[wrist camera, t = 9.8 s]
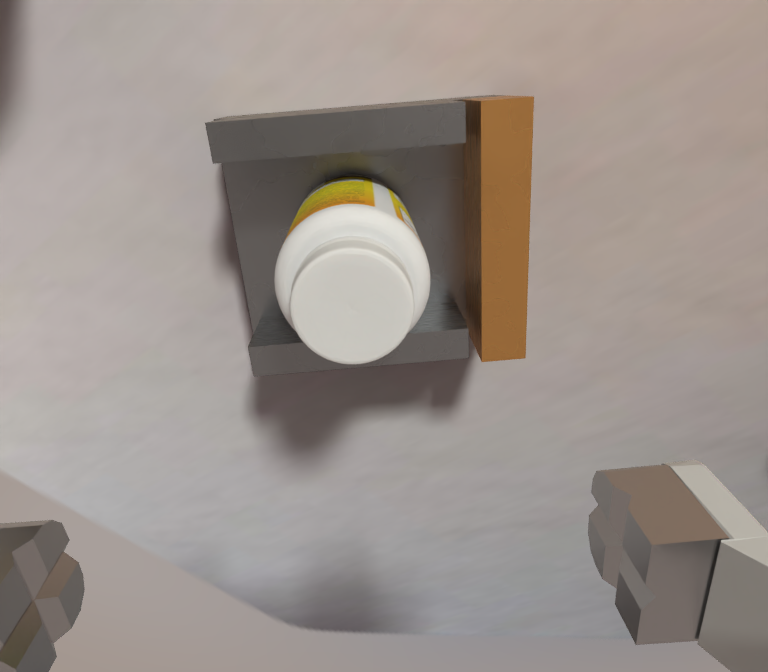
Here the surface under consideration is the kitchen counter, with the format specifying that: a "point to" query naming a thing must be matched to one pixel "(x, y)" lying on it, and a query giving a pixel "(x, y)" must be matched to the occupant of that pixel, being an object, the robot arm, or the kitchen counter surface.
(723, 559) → the robot arm
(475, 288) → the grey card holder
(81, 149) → the kitchen counter surface
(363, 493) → the kitchen counter surface
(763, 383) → the kitchen counter surface
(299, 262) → the supplement bottle
